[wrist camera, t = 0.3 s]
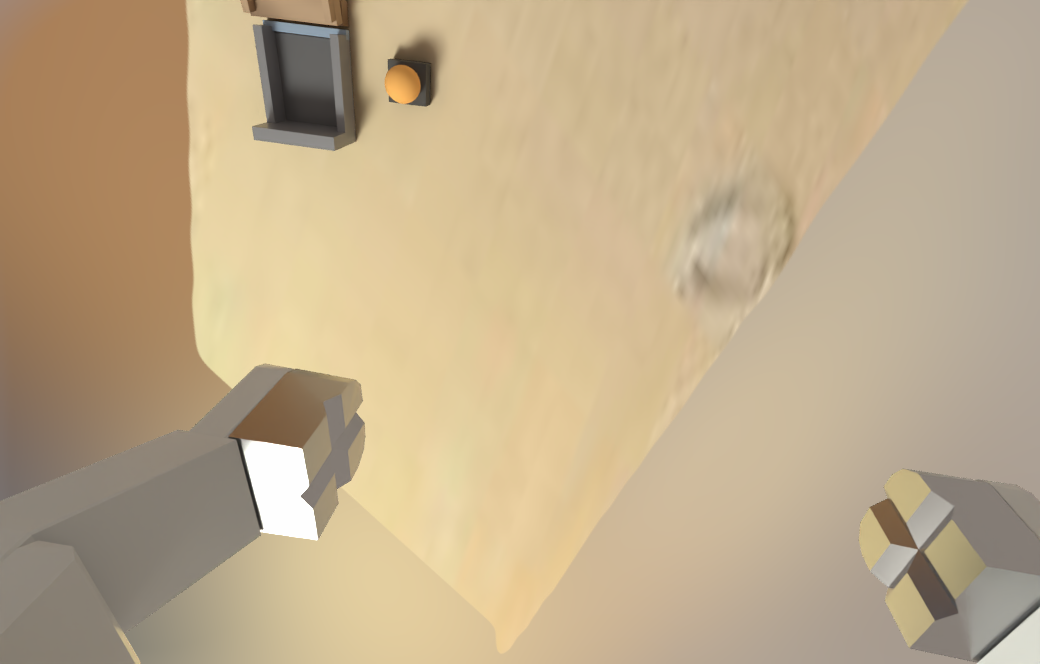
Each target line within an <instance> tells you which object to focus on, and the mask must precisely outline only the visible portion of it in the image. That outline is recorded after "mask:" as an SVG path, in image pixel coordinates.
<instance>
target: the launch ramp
mask: <svg viewBox="0 0 1040 664" xmlns="http://www.w3.org/2000/svg"><path fill="white" fill-rule="evenodd" d="M241 4H242V8H243V11H244V12H246V13H251V16H260V17H268V18H276V19H284V20H292V21H301V22H309V23H317V24H325V25H334V26H349V23H348V7H347V1H345V0H241Z"/></svg>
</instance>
